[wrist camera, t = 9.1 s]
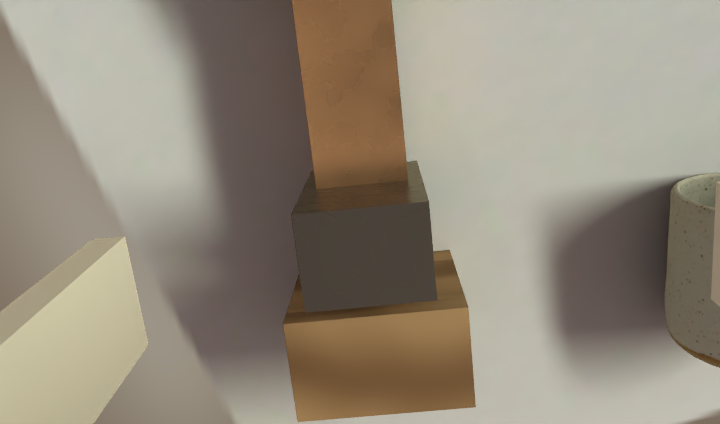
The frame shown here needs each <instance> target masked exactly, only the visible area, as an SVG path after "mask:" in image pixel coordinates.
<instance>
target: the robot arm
mask: <svg viewBox="0 0 720 424" xmlns="http://www.w3.org/2000/svg"><path fill="white" fill-rule="evenodd" d="M711 299H712V300H713V301H714V302H715V303H716V304H717V305H718V306H720V182H716V200H715V222H714V243H713V265H712V286H711ZM147 346H148V340H147V336H146V331H145V327H144V322H143V317H142V313H141V308H140V304H139V299H138V294H137V289H136V285H135V280H134V276H133V271H132V266H131V262H130V257H129V252H128V248H127V243H126V239H125V236H122V237H111V238H100V239H92V240H91V241H89V242H88V243H87V244H86V245H84V246H83V247H82V248H81V249H79V250H78V251H77V252H75V253H74V254H73V255H72V256H71V257H69V258H68V259H67V260H65V261H64V262H63V263H62V264H60V265H59V266H58V267H57V268H55V269H54V270H53V271H52V272H50V273H49V274H48V275H47V276H45V277H44V278H43V279H41V280H40V281H39V282H37V283H36V284H35V285H34V286H32V287H31V288H30V289H29V290H28V291H26V292H25V293H23V294H22V295H21V296H20V297H18V298H17V299H16V300H15V301H13V302H12V303H11V304H10V305H8V306H7V307H6V308H5V309H3V310H2V311H1V312H0V424H93V423H94V422H95V421H96V419H97V418H98V416H99V415H100V413H101V412H102V410H103V409H104V408H105V406H106V405H107V403H108V402H109V401H110V399H111V398H112V396H113V395H114V393H115V392H116V390H117V389H118V388H119V386H120V385H121V383H122V382H123V380H124V379H125V378H126V376H127V375H128V373H129V372H130V370H131V369H132V368H133V366H134V365H135V363H136V362H137V360H138V359H139V358H140V356H141V355H142V353H143V352H144V350H145V349H146V348H147Z"/></svg>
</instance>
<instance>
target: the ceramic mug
mask: <svg viewBox="0 0 720 424" xmlns="http://www.w3.org/2000/svg"><path fill="white" fill-rule="evenodd" d="M716 182H720V173H714V174H704V175H696V176H692V177H689V178H686V179H683V180H680V181H679V182H677V183H676V184H675V185H674V186H673V188H672V190H671V195H670V218H669V232H668V253H667V276H666V285H665V314H666V321H667V327H668V330H669V332H670V335H671V336H672V338H673V339H674V340H675V342H676V343H677V344H678V345H679V346H681V347H682V348H683V349H684V350H685V351H687V352H688V353H690V354H691V355H693V356H694V357H696V358H698V359H700V360H702V361H704V362H706V363H709V364H711V365H714V366H716V367H719V368H720V306H718V305H717V304H716V303H715V302H714V301H713V300H712V299H711V286H712V265H713V243H714V222H715V200H716Z"/></svg>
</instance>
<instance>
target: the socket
mask: <svg viewBox="0 0 720 424" xmlns="http://www.w3.org/2000/svg"><path fill="white" fill-rule="evenodd" d="M433 256H434V268H435V279H436V291H437V301H426V302H415V303H404V304H393V305H382V306H372V307H361V308H350V309H339V310H328V311H317V312H306V313H305V309H304V302H303V295H302V288H301V281H300V274H299V276H298V279H297V282H296V285H295V288H294V292H293V295H292V298H291V301H290V304H289V307H288V310H287V313H286V316H285V319H284V323H283V328H284V335H285V341H286V348H287V354H288V361H289V368H290V374H291V381H292V387H293V394H294V401H295V407H296V414H297V420H298V422H303V421H315V420H327V419H339V418H351V417H363V416H375V415H387V414H399V413H411V412H423V411H435V410H447V409H459V408H471V407H476V406H475V392H474V379H473V365H472V352H471V338H470V324H469V311H468V305H467V302H466V299H465V296H464V293H463V290H462V287H461V284H460V281H459V277H458V274H457V271H456V268H455V265H454V262H453V259H452V256H451V253H450V250H446V251H435V252H433Z"/></svg>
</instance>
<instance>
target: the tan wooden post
mask: <svg viewBox="0 0 720 424" xmlns="http://www.w3.org/2000/svg"><path fill="white" fill-rule="evenodd" d="M292 7H293V14H294V22H295V30H296V37H297V45H298V53H299V60H300V68H301V76H302V83H303V91H304V99H305V106H306V114H307V122H308V129H309V137H310V145H311V152H312V160H313V168H314V171H313V172H311V174H310V176H309V178H308V180H307V182H306V184H305V187H304V189H303V191H302V193H301V195H300V197H299V199H298V202H297V204H296V206H295V208H294V210H293V212H292V214H291V217H292V224H293V231H294V238H295V245H296V252H297V259H298V267H299V274H300V281H301V288H302V295H303V302H304V309H305V313H306V312H317V311H328V310H339V309H350V308H361V307H372V306H382V305H393V304H404V303H415V302H426V301H437V291H436V279H435V268H434V256H433V244H432V233H431V221H430V210H429V200H428V197H427V194H426V190H425V187H424V183H423V180H422V177H421V173H420V170H419V167H418V163H417V161H410V162H406V152H405V141H404V131H403V120H402V109H401V99H400V88H399V77H398V67H397V56H396V45H395V35H394V24H393V13H392V3H391V0H292Z"/></svg>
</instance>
